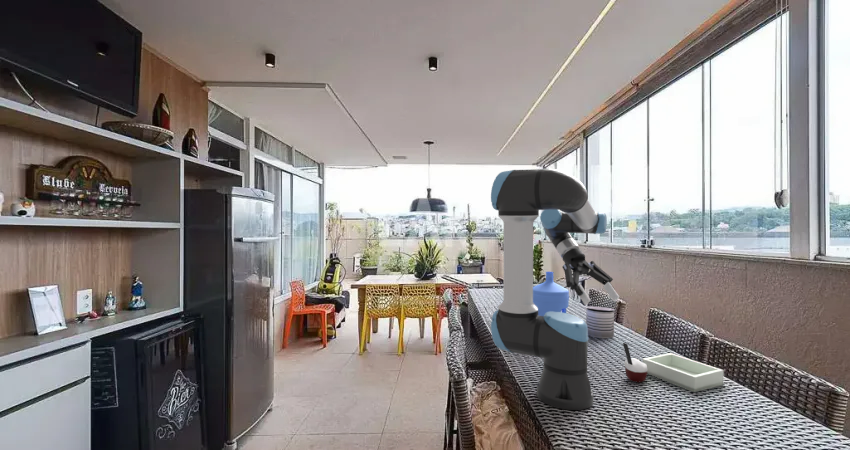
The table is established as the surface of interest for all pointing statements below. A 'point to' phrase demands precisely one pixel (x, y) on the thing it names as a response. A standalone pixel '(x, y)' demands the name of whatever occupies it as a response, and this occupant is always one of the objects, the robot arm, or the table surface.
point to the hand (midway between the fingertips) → (602, 301)
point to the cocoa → (634, 367)
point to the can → (600, 322)
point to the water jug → (550, 296)
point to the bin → (684, 372)
